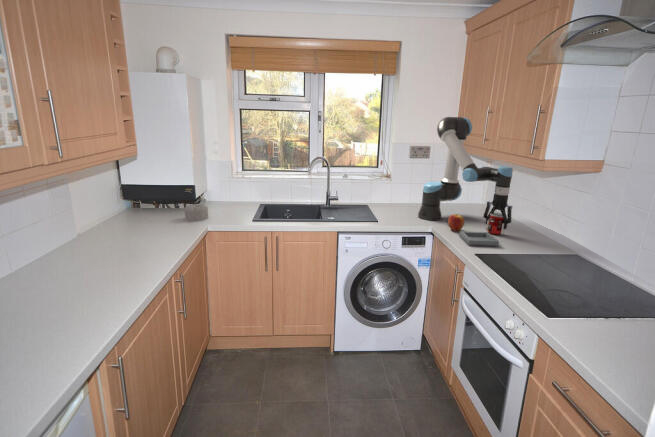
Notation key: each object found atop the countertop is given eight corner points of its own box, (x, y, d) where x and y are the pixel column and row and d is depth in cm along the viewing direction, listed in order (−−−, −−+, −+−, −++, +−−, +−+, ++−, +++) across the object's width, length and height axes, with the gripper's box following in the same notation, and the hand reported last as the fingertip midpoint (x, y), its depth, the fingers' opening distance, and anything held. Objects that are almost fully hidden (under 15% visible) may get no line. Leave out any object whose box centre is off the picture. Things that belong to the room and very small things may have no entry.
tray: (459, 236, 212) (460, 231, 211) (487, 237, 212) (487, 232, 211) (468, 245, 197) (469, 240, 196) (498, 246, 197) (499, 241, 196)
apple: (443, 229, 223) (445, 213, 221) (452, 227, 229) (454, 211, 226) (457, 233, 217) (459, 217, 214) (466, 230, 222) (468, 214, 220)
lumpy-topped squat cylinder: (184, 218, 231) (183, 204, 228) (205, 215, 237) (205, 202, 235) (188, 222, 222) (187, 208, 220) (210, 219, 229) (209, 206, 226)
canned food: (487, 229, 223) (490, 211, 220) (502, 231, 220) (505, 213, 217) (486, 233, 217) (489, 214, 214) (501, 235, 214) (505, 217, 210)
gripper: (480, 191, 217) (474, 228, 223) (517, 198, 202) (510, 238, 209) (486, 189, 222) (480, 226, 228) (523, 196, 207) (515, 235, 214)
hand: (494, 232), depth 218 cm, fingers closed on canned food, 8 cm apart
